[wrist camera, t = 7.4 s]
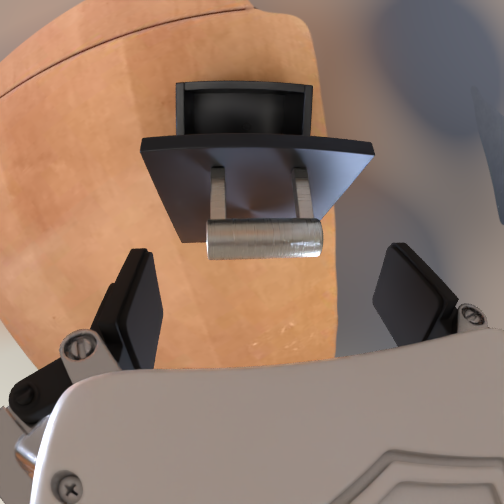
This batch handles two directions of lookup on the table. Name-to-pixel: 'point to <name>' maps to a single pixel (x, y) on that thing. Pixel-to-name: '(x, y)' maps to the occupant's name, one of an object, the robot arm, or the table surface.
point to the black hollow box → (243, 107)
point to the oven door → (252, 189)
